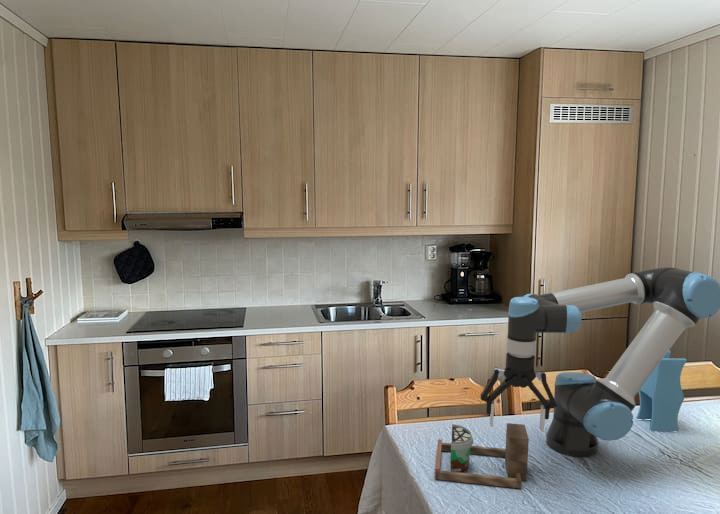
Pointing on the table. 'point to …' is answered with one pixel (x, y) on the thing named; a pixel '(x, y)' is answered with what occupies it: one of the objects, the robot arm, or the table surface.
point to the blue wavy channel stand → (663, 395)
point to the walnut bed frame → (513, 455)
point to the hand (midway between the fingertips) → (516, 427)
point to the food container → (460, 448)
